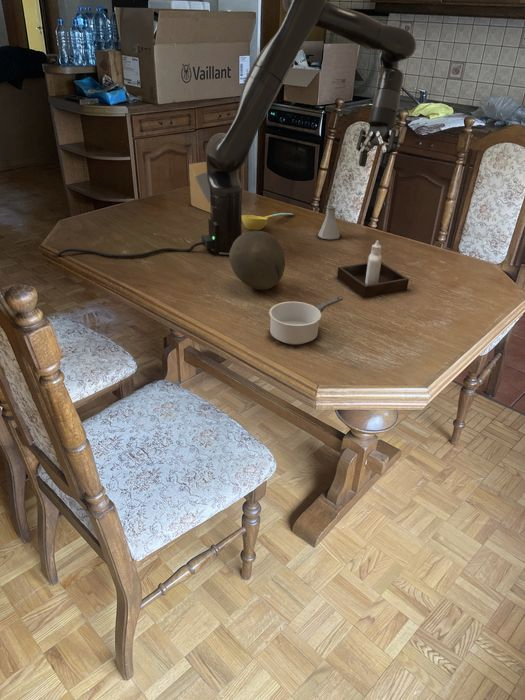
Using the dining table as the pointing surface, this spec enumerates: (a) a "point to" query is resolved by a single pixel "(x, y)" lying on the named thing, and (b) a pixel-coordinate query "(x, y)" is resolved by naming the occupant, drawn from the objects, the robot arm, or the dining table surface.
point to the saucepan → (297, 321)
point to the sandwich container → (199, 186)
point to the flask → (329, 225)
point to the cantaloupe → (257, 259)
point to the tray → (386, 284)
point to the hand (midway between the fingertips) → (372, 166)
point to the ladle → (257, 221)
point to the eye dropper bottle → (374, 265)
